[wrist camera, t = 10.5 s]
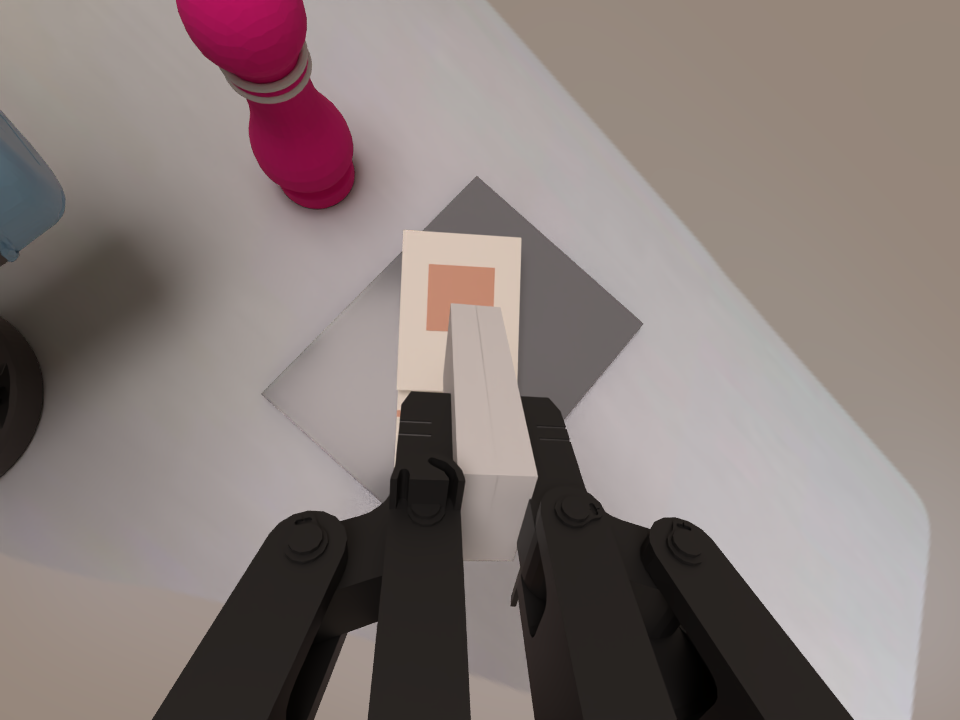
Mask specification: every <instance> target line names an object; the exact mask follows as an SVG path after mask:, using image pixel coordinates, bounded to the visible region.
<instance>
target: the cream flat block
mask: <svg viewBox="0 0 960 720" xmlns="http://www.w3.org/2000/svg"><path fill="white" fill-rule="evenodd" d="M520 272H521V238H519V237H504V236H489V235H474V234H459V233H443V232H428V231H413V230H403V250H402V274H401V297H400V320H399V344H398V367H397V390H414V391H443V372H444V362H445V353H446V343H447V334H448V324H449V315H450V305H451V303H455V304H467V305H480V306H492V307H500V308H501V312H502V317H503V321H504V326H505V330H506V335H507V339H508V344H509V348H510V353H511V357H512V362H513V366H514V371H515V375H516V380H517V376H518V341H519V307H520Z"/></svg>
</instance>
